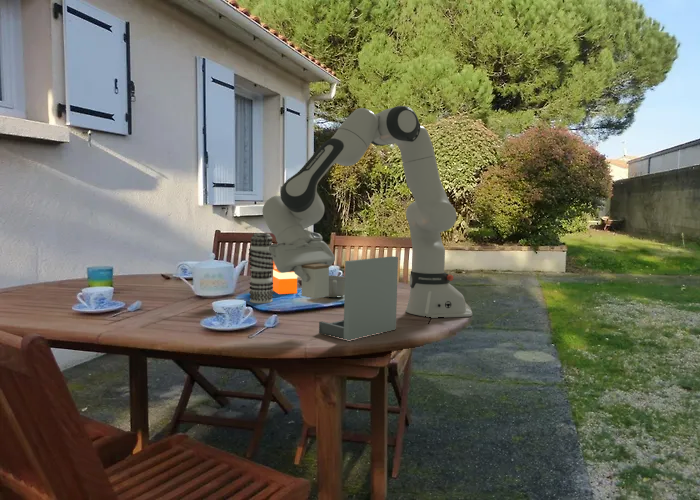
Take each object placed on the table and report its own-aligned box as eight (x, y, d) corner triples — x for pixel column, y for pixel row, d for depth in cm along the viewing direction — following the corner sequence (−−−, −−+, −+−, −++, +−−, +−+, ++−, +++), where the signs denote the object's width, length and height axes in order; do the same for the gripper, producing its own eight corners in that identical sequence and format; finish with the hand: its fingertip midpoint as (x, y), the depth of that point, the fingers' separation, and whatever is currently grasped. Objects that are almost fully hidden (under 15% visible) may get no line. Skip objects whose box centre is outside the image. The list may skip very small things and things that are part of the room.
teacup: (322, 293, 225) (323, 274, 224) (349, 295, 223) (350, 275, 222) (315, 300, 211) (316, 279, 210) (344, 301, 210) (344, 280, 209)
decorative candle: (244, 299, 209) (245, 232, 206) (268, 298, 213) (268, 232, 211) (253, 304, 201) (253, 234, 198) (277, 302, 205) (278, 234, 203)
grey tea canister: (315, 293, 165) (315, 263, 164) (328, 295, 161) (328, 264, 160) (301, 295, 161) (301, 264, 160) (314, 298, 157) (314, 266, 156)
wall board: (366, 323, 176) (368, 253, 174) (395, 330, 167) (398, 257, 165) (319, 333, 162) (320, 257, 159) (348, 341, 153) (350, 261, 151)
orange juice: (278, 294, 222) (279, 243, 220) (272, 290, 230) (273, 241, 228) (297, 293, 225) (298, 243, 223) (290, 289, 233) (291, 241, 231)
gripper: (271, 237, 157) (293, 276, 151) (324, 233, 171) (347, 269, 166) (261, 252, 160) (283, 290, 155) (315, 247, 175) (336, 282, 169)
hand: (316, 279), depth 160 cm, fingers closed on grey tea canister, 5 cm apart
